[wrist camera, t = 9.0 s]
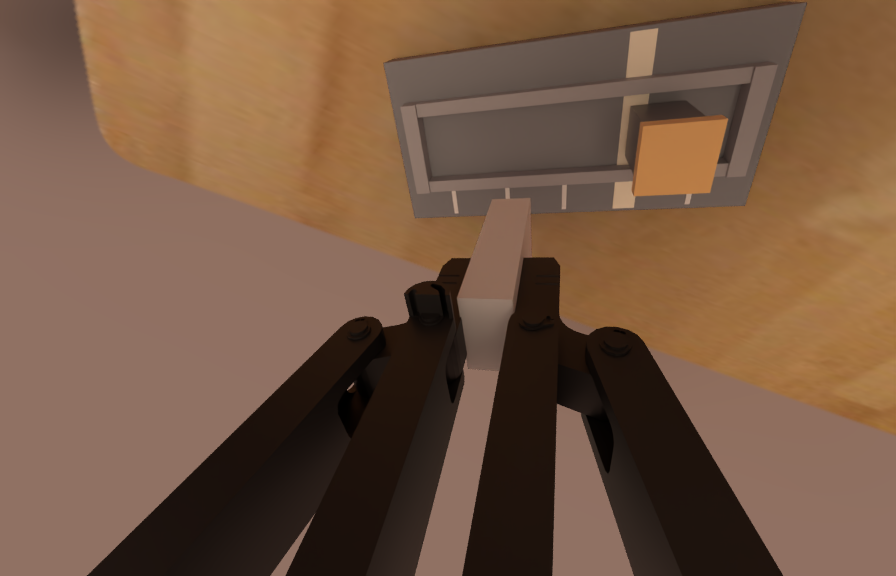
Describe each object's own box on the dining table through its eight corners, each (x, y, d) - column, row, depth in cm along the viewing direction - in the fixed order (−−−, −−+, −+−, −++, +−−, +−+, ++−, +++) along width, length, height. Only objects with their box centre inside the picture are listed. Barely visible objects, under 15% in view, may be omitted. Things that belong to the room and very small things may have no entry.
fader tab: (693, 94, 23) (728, 118, 18) (680, 156, 25) (710, 192, 20) (625, 100, 24) (643, 126, 19) (619, 160, 26) (633, 196, 21)
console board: (788, 2, 22) (819, 2, 19) (734, 193, 28) (752, 213, 25) (393, 59, 27) (377, 65, 25) (421, 207, 33) (410, 224, 31)
